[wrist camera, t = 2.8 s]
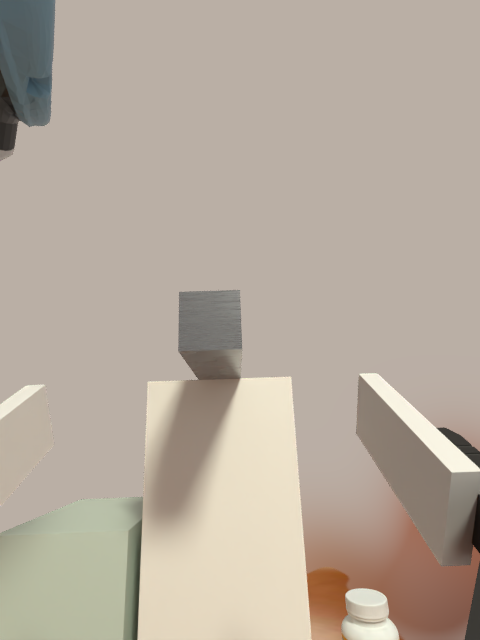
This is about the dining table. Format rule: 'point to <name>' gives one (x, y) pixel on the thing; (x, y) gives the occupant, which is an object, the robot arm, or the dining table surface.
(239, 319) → the steel block
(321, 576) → the dining table surface
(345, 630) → the supplement bottle
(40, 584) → the two-step stand
